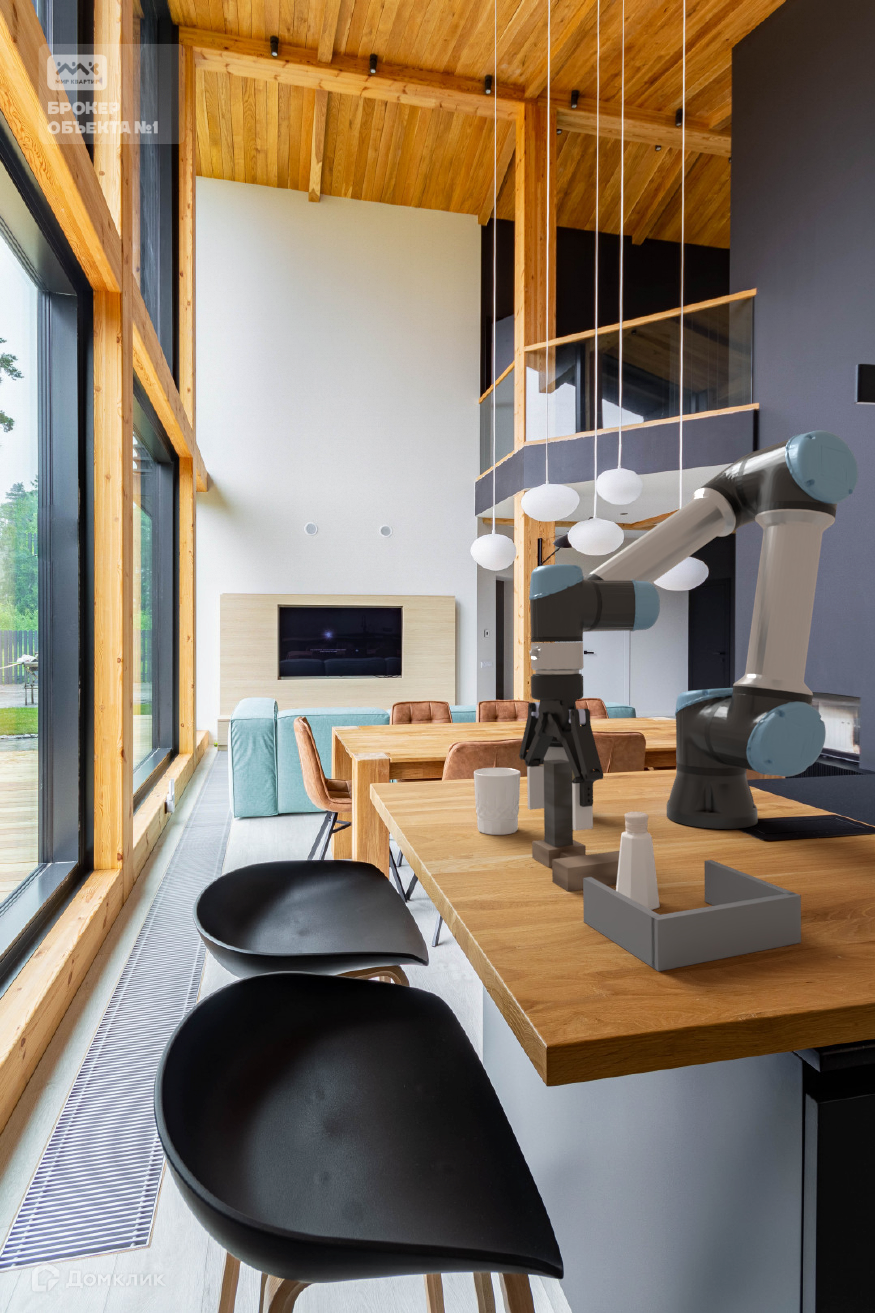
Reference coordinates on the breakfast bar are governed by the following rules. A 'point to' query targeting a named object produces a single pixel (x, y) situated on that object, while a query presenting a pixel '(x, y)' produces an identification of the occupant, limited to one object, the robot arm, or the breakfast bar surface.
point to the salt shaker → (637, 862)
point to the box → (698, 920)
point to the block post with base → (568, 836)
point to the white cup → (497, 800)
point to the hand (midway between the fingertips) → (558, 818)
